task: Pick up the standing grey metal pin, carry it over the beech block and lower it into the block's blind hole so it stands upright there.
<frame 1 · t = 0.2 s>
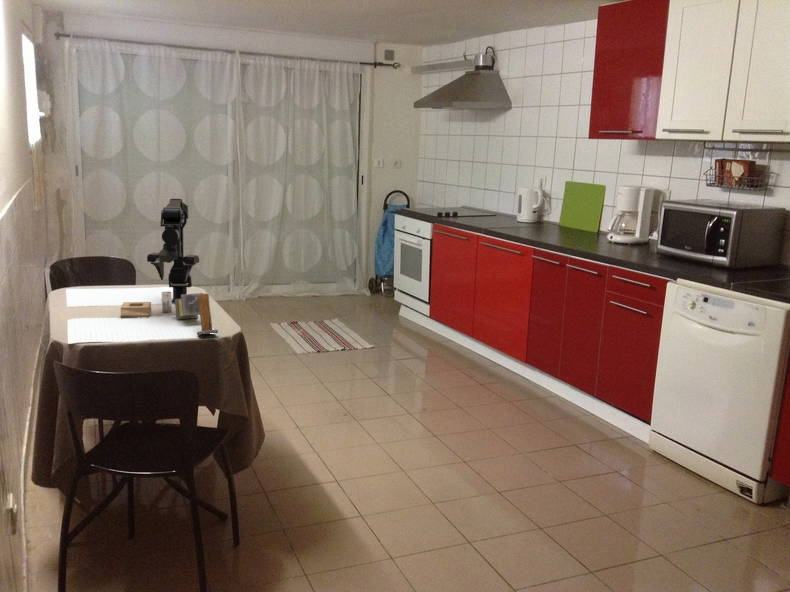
hand: (173, 280, 268), 14 cm above the table, tool pointing down, fingers open, 9 cm apart
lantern: (196, 328, 254), on the table
pin: (166, 312, 275), on the table
bore block: (136, 314, 269), on the table
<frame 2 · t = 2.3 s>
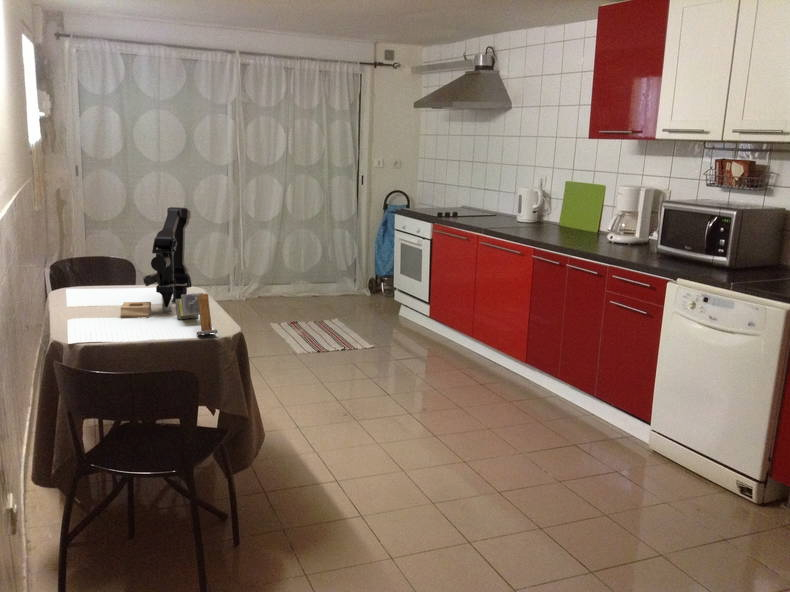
hand: (166, 305, 275), 3 cm above the table, tool pointing down, fingers closed on pin, 4 cm apart
pin: (166, 312, 275), on the table, touching gripper
everything else where it was.
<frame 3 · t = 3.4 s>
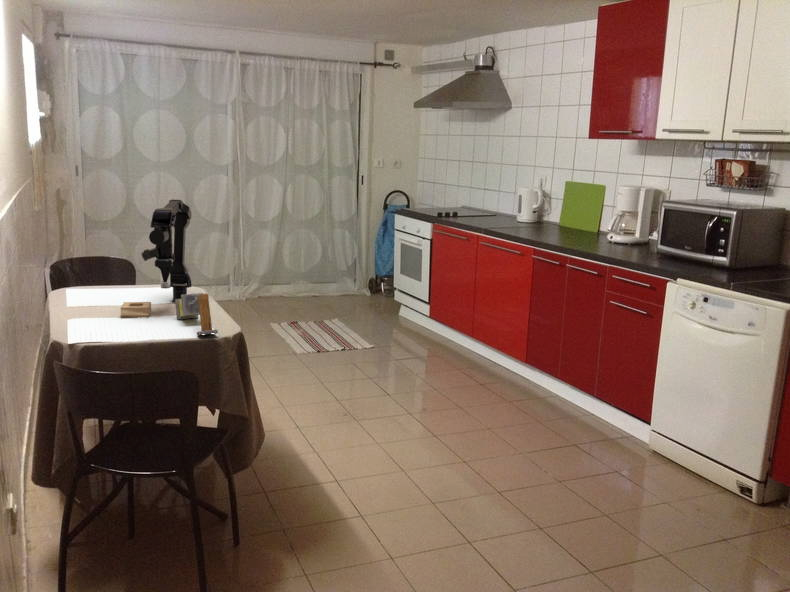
hand: (165, 281, 272), 12 cm above the table, tool pointing down, fingers closed on pin, 4 cm apart
pin: (165, 287, 273), point 10 cm above the table, touching gripper
everything else where it was.
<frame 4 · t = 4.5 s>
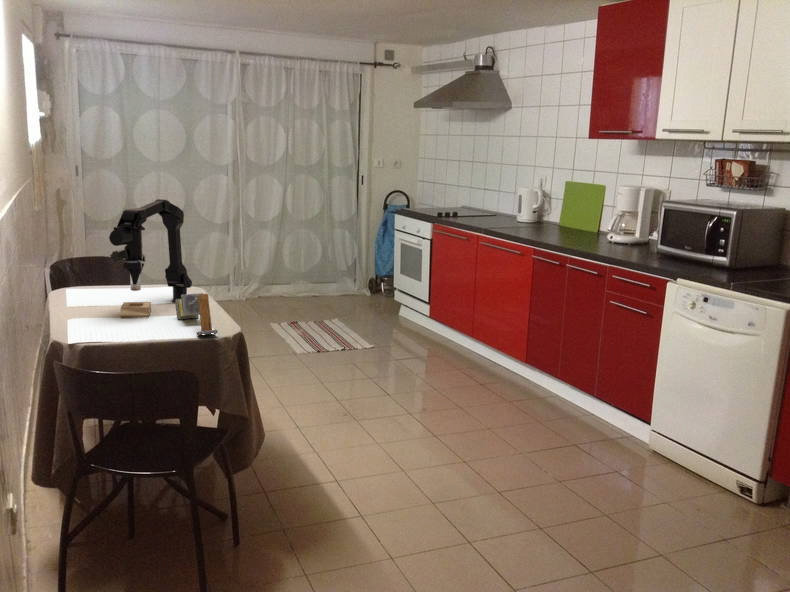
hand: (135, 283, 266), 12 cm above the table, tool pointing down, fingers closed on pin, 4 cm apart
pin: (135, 289, 267), point 10 cm above the table, touching gripper
everything else where it was.
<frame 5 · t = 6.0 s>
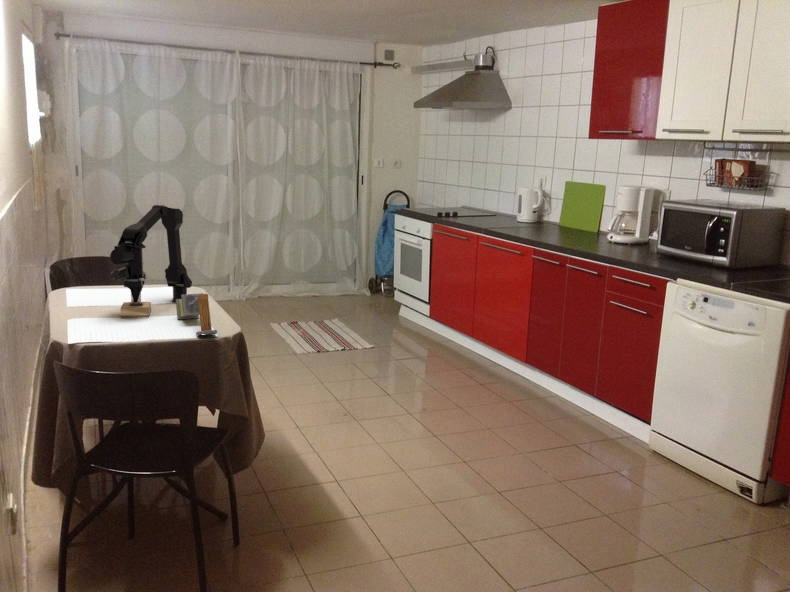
hand: (136, 301, 268), 6 cm above the table, tool pointing down, fingers closed on pin, 4 cm apart
pin: (136, 307, 268), point 3 cm above the table, touching gripper
everything else where it was.
when the fingers open (5 cm above the table, at t = 6.9 s): pin drops 1 cm, resting on bore block.
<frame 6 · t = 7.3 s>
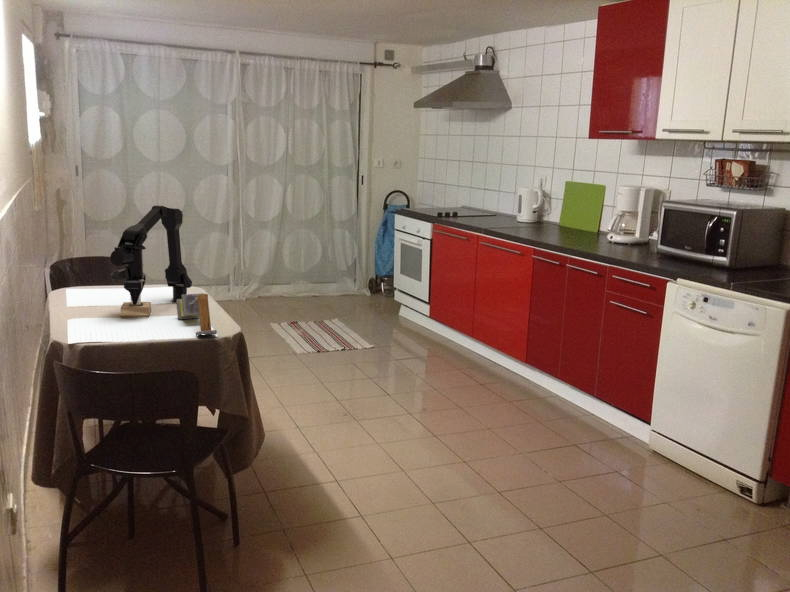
hand: (136, 302, 268), 5 cm above the table, tool pointing down, fingers open, 8 cm apart
pin: (136, 312, 268), point 1 cm above the table, touching bore block
everything else where it was.
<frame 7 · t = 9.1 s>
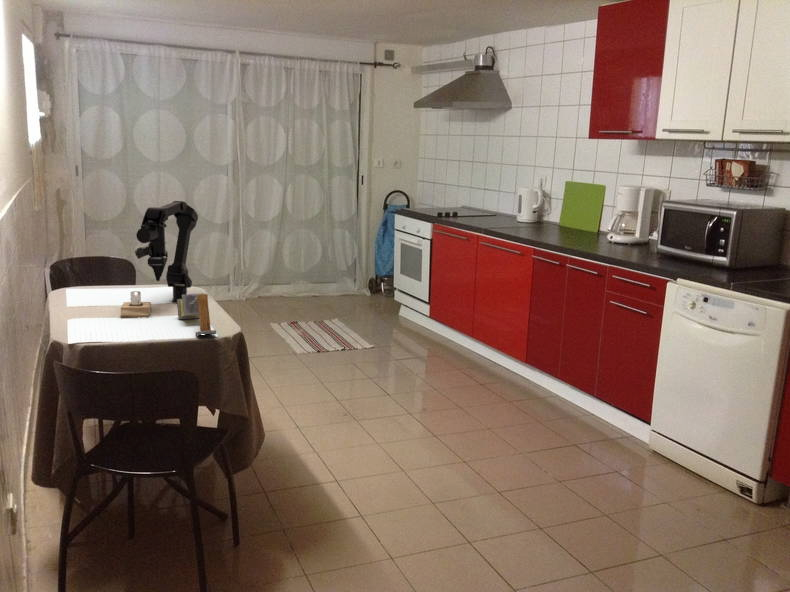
hand: (159, 278, 277), 13 cm above the table, tool pointing down, fingers open, 9 cm apart
nothing on the table moved.
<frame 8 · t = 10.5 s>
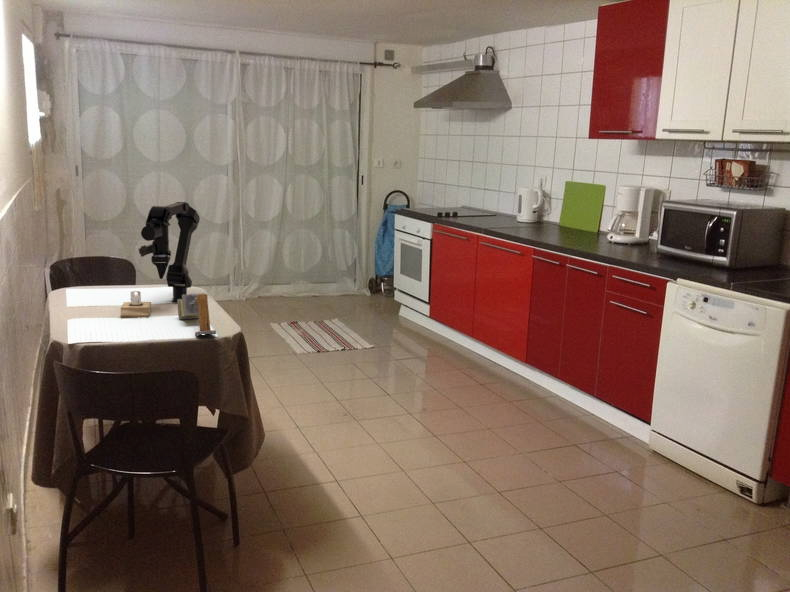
hand: (162, 276, 279), 13 cm above the table, tool pointing down, fingers open, 9 cm apart
nothing on the table moved.
at the end: pin 0.0 cm off-centre on the bore block, point 1.0 cm above the bore block's base; pin tilted 1°; the gripper is holding nothing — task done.
